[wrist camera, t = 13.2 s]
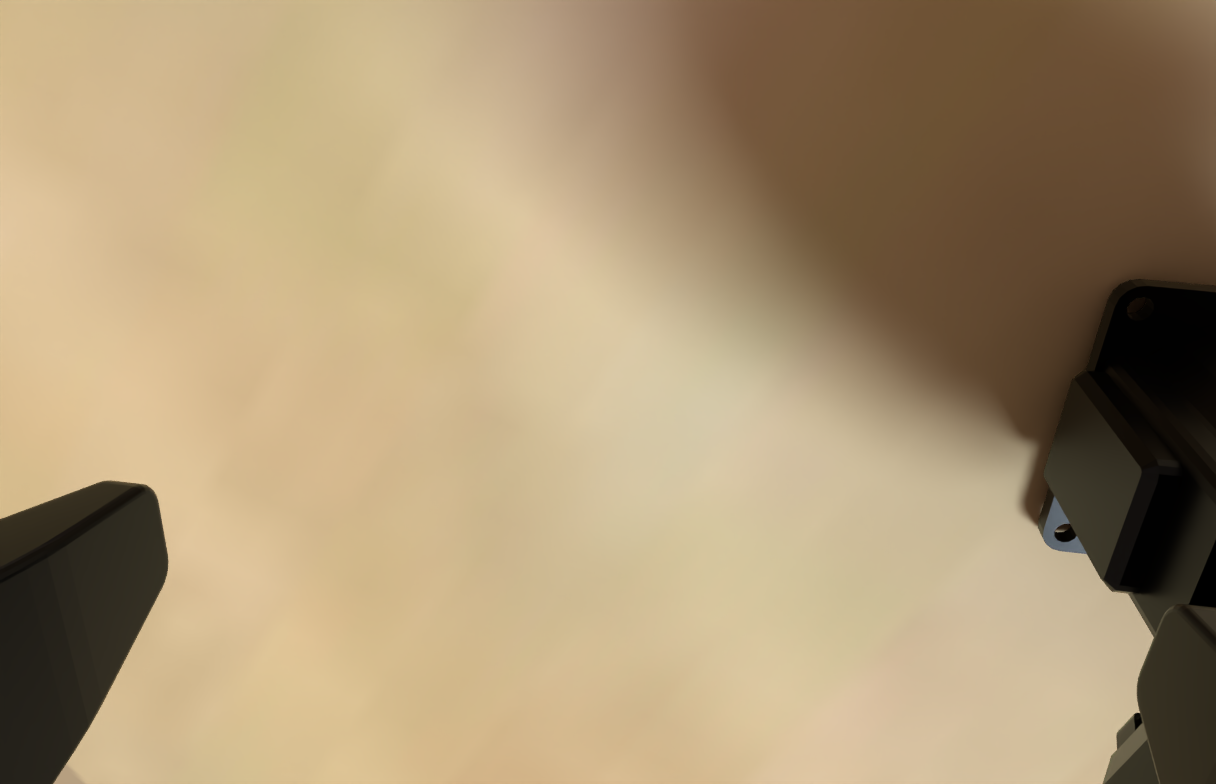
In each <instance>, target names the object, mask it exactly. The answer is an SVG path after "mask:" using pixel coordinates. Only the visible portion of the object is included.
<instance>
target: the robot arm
mask: <svg viewBox="0 0 1216 784" xmlns="http://www.w3.org/2000/svg"><path fill="white" fill-rule="evenodd" d="M1141 297H1145V298H1146V304H1145V305H1144V307H1143V309H1141V310H1140V311H1138V312H1136V313H1131V314H1129V313H1127V307H1128V306H1129V304H1130V302H1132V301H1133V300H1135V299H1136V298H1141ZM1044 478H1045V480H1046V482H1047V483H1048V485H1049V489H1048V492H1047V495H1046V499H1045V502H1044V505H1043V508H1042V511H1041V515H1040V518H1039V521H1038V529H1039V531H1040V533H1041V535H1042V537H1043V539H1044V541H1045V543H1046V544H1047V545H1048V546H1049V547H1050V548H1052V549H1055V550H1058V551H1065V552H1073V553H1082V554H1087V555H1088V557H1089V558H1090V560H1091V562H1092V564H1093V566H1094V567H1095V569H1096V571H1097V573H1098V574H1099V576H1100V578H1101V579H1102V581H1103V582H1104V583H1105V584H1106V586H1107V587H1108V588H1109V589H1110V590H1111V591H1112V592H1120V593H1128V594H1129V596H1130V597H1131V599H1132V601H1133V603H1134V604H1135V606H1136V608H1137V609H1138V611H1139V613H1140V614H1141V616H1142V618H1143V620H1144V621H1145V623H1146V625H1147V626H1148V628H1149V630H1150V631H1151V633H1152V635H1153V637H1154V639H1153V642H1152V644H1151V647H1150V649H1149V651H1148V654H1147V656H1146V659H1145V661H1144V664H1143V666H1142V669H1141V671H1140V674H1139V678H1138V683H1137V701H1138V706H1139V711H1140V713H1135V714H1134V715H1133V716H1132V717H1131V718H1130V719H1129V720H1128V721H1127V723H1126V724H1125V725H1124V726H1123V727H1122V728H1121V729H1120V730H1119V731H1118V732H1117V751H1116V752H1115V753H1114V754H1113V755H1112V756H1111V759H1110V762H1109V765H1108V768H1107V772H1106V775H1105V778H1104V781H1103V784H1216V286H1209V285H1198V284H1187V283H1177V282H1166V281H1155V280H1144V279H1136V280H1129V281H1127V282H1124V283H1122V284H1120V285H1119V286H1118V287H1117V288H1116V289H1114V290H1113V291H1112V293H1111V295H1110V297H1109V299H1108V301H1107V304H1106V307H1105V311H1104V314H1103V317H1102V320H1101V323H1100V327H1099V330H1098V333H1097V336H1096V339H1095V343H1094V346H1093V349H1092V352H1091V355H1090V358H1089V362H1088V365H1087V368H1086V370H1084V371H1082V372H1081V373H1080V374H1079V375H1077V376H1076V377H1075V378H1074V379H1072V382H1071V385H1070V388H1069V392H1068V395H1067V398H1066V401H1065V404H1064V408H1063V411H1062V414H1061V417H1060V421H1059V424H1058V427H1057V430H1056V434H1055V437H1054V440H1053V443H1052V447H1051V450H1050V453H1049V456H1048V460H1047V463H1046V466H1045V469H1044ZM1062 524H1070V525H1071V527H1070V528H1069V529H1068V530H1066V531H1064V532H1055V530H1056V529H1057V527H1059V526H1061V525H1062ZM167 571H168V553H167V548H166V542H165V537H164V531H163V525H162V520H161V514H160V508H159V503H158V499H157V496H156V494H155V492H154V491H153V490H152V489H151V488H150V487H148V486H147V485H144V484H136V483H127V482H119V481H102V482H99V483H96V484H94V485H91V486H88V487H86V488H83V489H80V490H78V491H75V492H72V493H69V494H67V495H64V496H61V497H59V498H56V499H53V500H51V501H48V502H45V503H43V504H40V505H37V506H34V507H32V508H29V509H26V510H24V511H21V512H18V513H16V514H13V515H10V516H8V517H5V518H2V519H0V784H53V783H54V782H55V780H56V779H57V777H58V775H59V774H60V772H61V771H62V769H63V768H64V766H65V765H66V763H67V762H68V760H69V759H70V757H71V756H72V754H73V753H74V751H75V749H76V748H77V746H78V745H79V743H80V741H81V740H82V738H83V736H84V735H85V733H86V732H87V730H88V728H89V727H90V725H91V723H92V721H93V720H94V718H95V716H96V714H97V713H98V711H99V709H100V707H101V705H102V704H103V702H104V700H105V698H106V696H107V694H108V692H109V690H110V688H111V686H112V684H113V682H114V680H115V678H116V676H117V675H118V673H119V671H120V669H121V667H122V665H123V663H124V661H125V659H126V657H127V655H128V653H129V651H130V649H131V647H132V645H133V643H134V642H135V640H136V638H137V636H138V634H139V632H140V630H141V628H142V626H143V624H144V622H145V620H146V618H147V616H148V614H149V612H150V611H151V609H152V607H153V605H154V603H155V601H156V599H157V597H158V595H159V593H160V591H161V589H162V587H163V585H164V582H165V579H166V576H167Z"/></svg>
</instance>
